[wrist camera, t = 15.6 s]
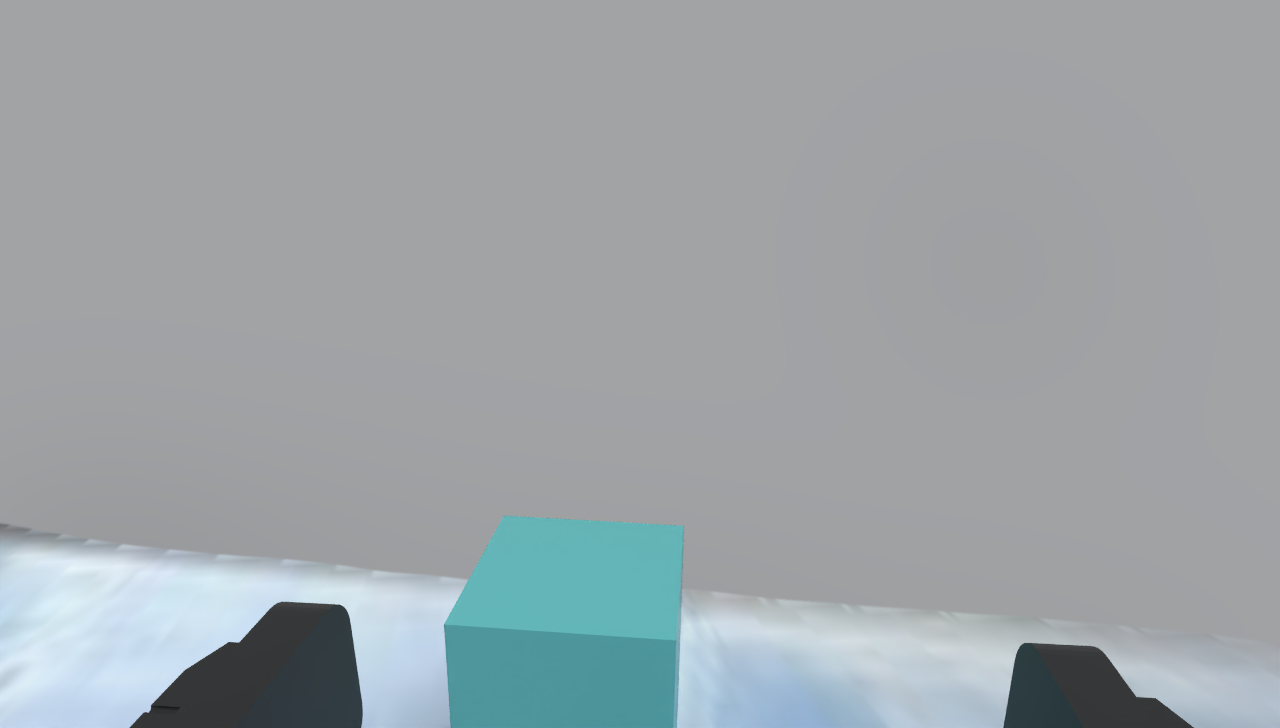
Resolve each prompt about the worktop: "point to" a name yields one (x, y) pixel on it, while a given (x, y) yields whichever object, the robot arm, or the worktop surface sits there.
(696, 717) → the worktop surface
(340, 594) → the worktop surface
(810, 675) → the worktop surface
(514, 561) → the block
